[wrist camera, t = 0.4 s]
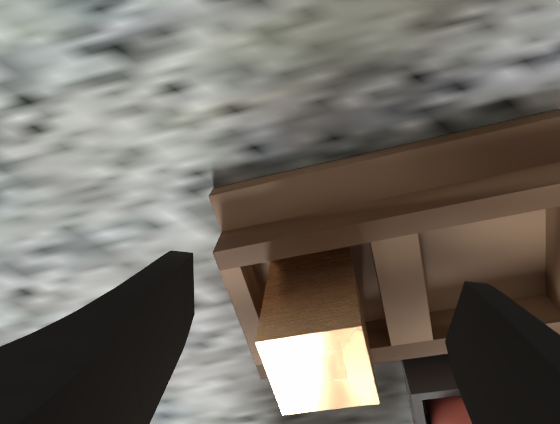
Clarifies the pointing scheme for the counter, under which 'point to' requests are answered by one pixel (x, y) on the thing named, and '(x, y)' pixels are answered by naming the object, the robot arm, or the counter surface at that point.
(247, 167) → the counter surface
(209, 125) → the counter surface
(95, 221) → the counter surface
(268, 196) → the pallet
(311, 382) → the block
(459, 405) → the button
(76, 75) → the counter surface
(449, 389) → the button housing
